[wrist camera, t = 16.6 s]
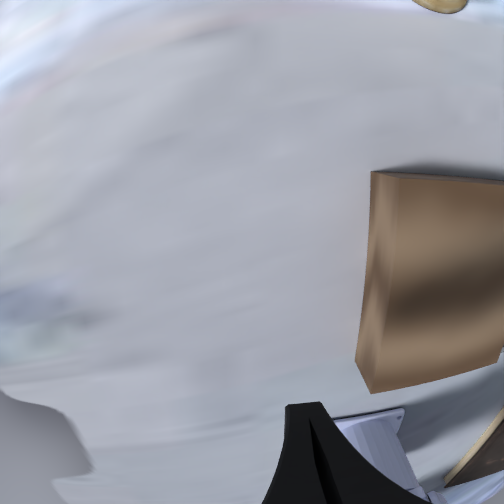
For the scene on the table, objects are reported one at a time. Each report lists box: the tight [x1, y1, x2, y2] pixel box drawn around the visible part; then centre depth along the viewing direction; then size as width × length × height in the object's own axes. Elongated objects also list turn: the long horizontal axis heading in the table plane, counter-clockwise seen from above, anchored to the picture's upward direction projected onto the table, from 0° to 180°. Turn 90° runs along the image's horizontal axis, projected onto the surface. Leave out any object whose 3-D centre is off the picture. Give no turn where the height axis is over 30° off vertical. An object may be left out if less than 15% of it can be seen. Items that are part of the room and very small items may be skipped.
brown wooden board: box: [355, 172, 504, 394], centre depth 19 cm, size 14×12×4 cm
